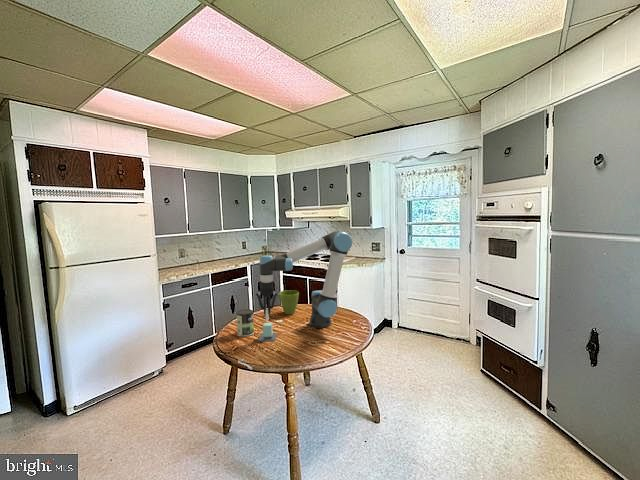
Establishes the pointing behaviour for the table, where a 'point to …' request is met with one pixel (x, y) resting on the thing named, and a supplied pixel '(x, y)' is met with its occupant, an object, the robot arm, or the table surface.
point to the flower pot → (289, 300)
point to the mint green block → (267, 329)
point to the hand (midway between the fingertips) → (267, 319)
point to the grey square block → (271, 338)
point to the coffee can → (245, 322)
